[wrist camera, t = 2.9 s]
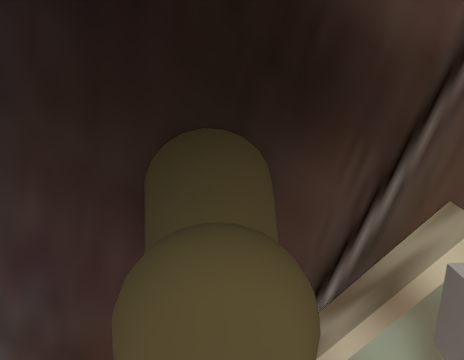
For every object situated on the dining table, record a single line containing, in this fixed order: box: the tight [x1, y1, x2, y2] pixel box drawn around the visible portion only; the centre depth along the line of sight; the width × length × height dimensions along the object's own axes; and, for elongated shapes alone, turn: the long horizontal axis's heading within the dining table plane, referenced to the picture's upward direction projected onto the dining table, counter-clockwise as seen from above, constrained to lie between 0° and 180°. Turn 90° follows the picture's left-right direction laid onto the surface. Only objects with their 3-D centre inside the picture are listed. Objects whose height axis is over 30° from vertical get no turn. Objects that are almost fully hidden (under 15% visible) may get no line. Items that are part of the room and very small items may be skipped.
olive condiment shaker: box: [111, 128, 321, 360], centre depth 14 cm, size 6×6×11 cm
